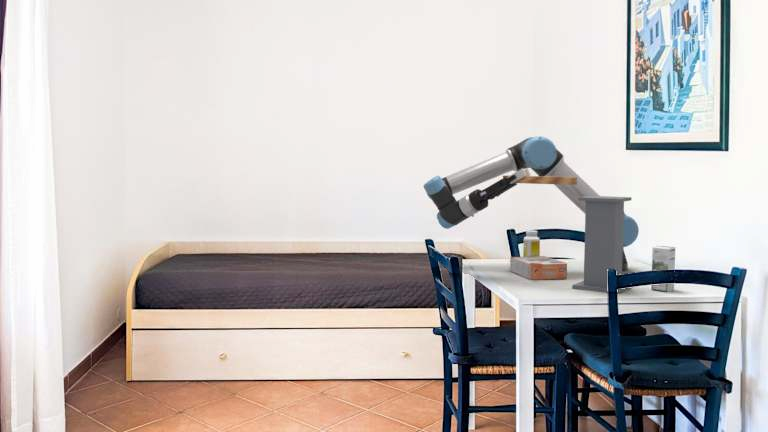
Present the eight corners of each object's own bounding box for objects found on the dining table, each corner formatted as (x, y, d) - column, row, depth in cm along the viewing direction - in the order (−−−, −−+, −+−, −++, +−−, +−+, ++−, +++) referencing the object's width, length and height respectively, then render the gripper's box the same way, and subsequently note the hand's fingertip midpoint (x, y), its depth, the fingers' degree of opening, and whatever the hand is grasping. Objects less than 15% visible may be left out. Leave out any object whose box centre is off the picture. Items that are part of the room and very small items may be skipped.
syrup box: (674, 289, 261) (676, 246, 260) (667, 292, 257) (669, 248, 256) (657, 287, 265) (659, 245, 264) (650, 290, 261) (652, 246, 260)
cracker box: (544, 254, 302) (568, 262, 282) (543, 270, 303) (567, 279, 283) (509, 255, 299) (531, 264, 279) (509, 271, 300) (531, 280, 280)
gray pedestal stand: (572, 288, 263) (574, 197, 261) (586, 282, 275) (588, 195, 272) (620, 293, 254) (622, 199, 252) (632, 287, 266) (635, 197, 263)
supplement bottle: (542, 261, 329) (542, 230, 328) (535, 263, 323) (536, 231, 322) (527, 259, 333) (527, 229, 332) (520, 261, 327) (521, 230, 326)
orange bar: (502, 182, 280) (502, 175, 280) (506, 182, 283) (507, 175, 283) (573, 184, 266) (573, 177, 266) (576, 184, 269) (577, 177, 269)
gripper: (488, 210, 295) (540, 180, 283) (468, 213, 281) (521, 181, 269) (480, 192, 297) (531, 162, 284) (459, 194, 283) (512, 162, 271)
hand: (526, 171), depth 277 cm, fingers closed on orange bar, 3 cm apart
